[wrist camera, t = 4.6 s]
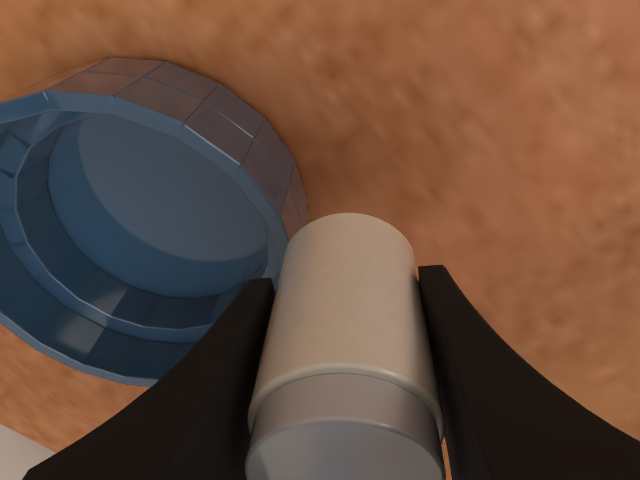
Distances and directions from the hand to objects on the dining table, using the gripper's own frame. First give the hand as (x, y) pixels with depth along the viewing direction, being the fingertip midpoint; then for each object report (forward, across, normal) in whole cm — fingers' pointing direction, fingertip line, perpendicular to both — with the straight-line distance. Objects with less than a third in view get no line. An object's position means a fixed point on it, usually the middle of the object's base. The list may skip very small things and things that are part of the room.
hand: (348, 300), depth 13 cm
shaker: (+1, 0, 0) cm, 1 cm away
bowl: (+8, +9, +1) cm, 12 cm away
